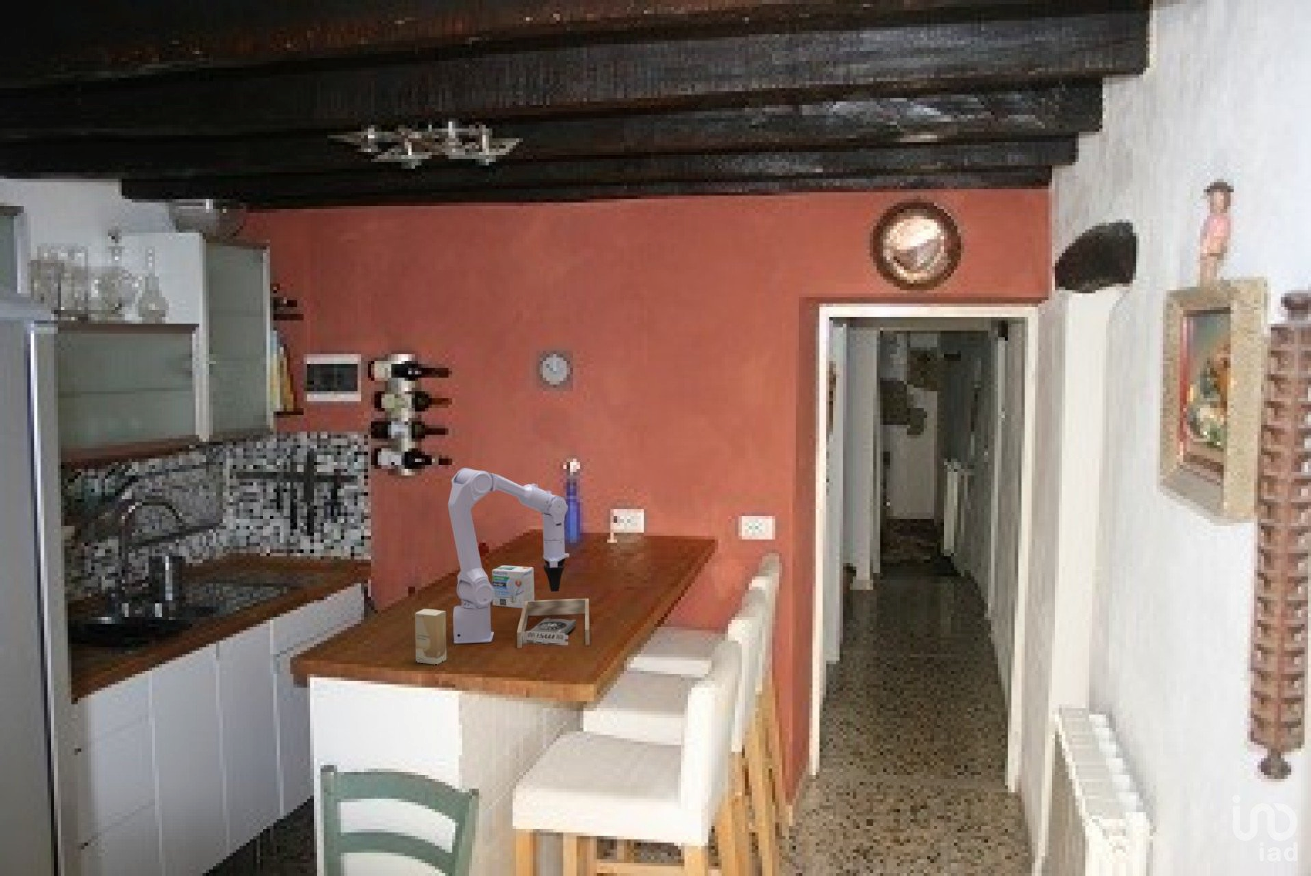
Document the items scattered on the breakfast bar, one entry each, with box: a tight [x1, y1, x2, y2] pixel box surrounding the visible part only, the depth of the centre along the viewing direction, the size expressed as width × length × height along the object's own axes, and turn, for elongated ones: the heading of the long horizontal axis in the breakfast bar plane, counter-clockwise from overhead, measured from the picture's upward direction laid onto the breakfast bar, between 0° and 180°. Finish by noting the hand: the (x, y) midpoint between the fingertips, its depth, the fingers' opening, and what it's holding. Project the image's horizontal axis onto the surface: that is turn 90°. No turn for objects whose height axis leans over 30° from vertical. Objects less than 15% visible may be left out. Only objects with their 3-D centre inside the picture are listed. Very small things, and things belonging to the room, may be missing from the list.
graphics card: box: [522, 617, 577, 646], centre depth 255 cm, size 17×4×12 cm
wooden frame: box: [516, 598, 591, 649], centre depth 261 cm, size 18×31×4 cm, turn 4°
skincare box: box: [414, 608, 447, 665], centre depth 235 cm, size 6×4×12 cm
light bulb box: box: [491, 564, 535, 609], centre depth 287 cm, size 11×7×11 cm, turn 70°
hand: (555, 587), depth 267 cm, fingers open, 7 cm apart
